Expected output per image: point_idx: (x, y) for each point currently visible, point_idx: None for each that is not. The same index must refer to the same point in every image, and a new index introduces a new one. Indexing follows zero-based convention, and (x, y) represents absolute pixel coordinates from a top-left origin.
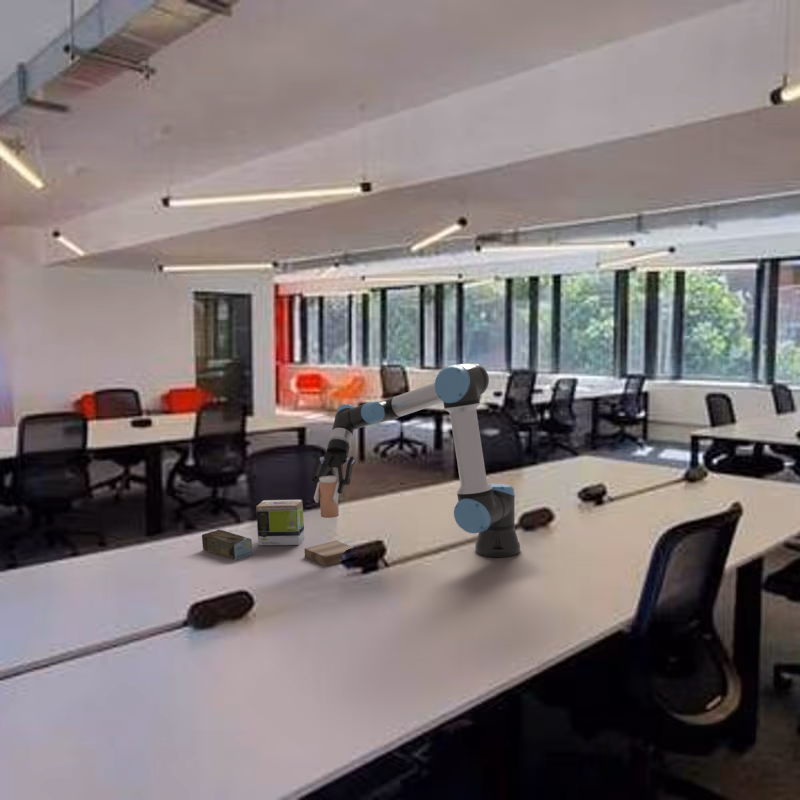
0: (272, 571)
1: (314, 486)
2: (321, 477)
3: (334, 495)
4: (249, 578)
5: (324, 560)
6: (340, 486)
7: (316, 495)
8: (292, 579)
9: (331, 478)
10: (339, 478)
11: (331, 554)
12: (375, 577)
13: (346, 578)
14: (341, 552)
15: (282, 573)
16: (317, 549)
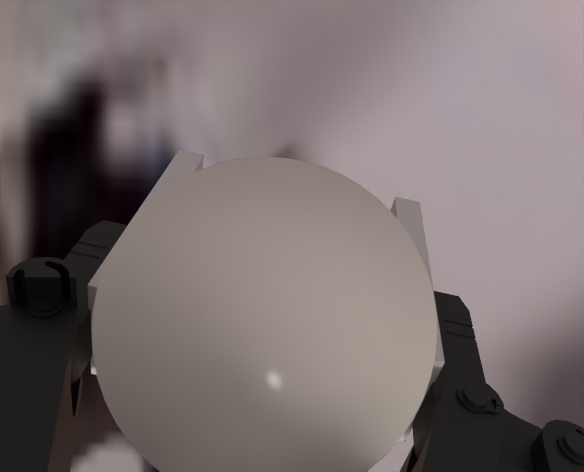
0: (504, 129)
1: (474, 346)
2: (397, 340)
3: (180, 173)
4: (575, 49)
5: None
6: (82, 267)
7: (398, 218)
8: (392, 27)
9: (191, 224)
10: (57, 353)
11: None
12: (41, 30)
13: (166, 25)
14: None
15: (453, 101)
16: None
